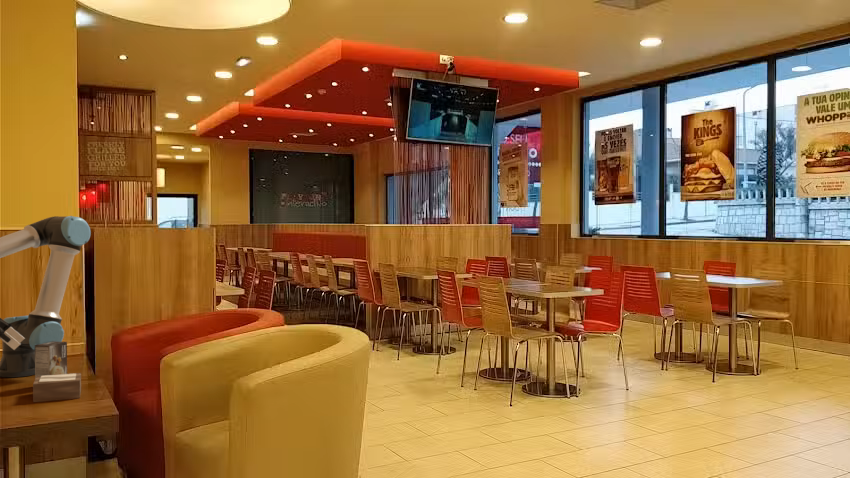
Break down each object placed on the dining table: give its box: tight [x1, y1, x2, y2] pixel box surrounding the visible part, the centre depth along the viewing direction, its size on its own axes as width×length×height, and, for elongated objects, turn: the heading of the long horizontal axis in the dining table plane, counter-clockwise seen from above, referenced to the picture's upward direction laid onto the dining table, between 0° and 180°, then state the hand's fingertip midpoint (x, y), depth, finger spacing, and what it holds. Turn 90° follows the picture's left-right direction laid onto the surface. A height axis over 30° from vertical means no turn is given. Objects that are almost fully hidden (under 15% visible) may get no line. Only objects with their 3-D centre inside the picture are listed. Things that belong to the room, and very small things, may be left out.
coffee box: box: [34, 341, 68, 380], centre depth 253 cm, size 9×6×16 cm
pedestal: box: [32, 372, 82, 403], centre depth 240 cm, size 14×14×6 cm
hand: (19, 344), depth 248 cm, fingers open, 13 cm apart
